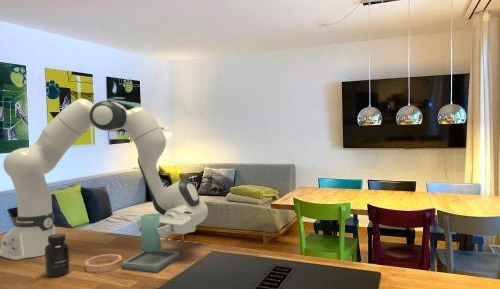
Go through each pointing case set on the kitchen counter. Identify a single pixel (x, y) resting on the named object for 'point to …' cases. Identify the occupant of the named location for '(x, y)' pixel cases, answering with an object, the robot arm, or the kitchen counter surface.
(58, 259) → the supplement bottle
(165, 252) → the tray
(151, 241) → the teal green cylinder
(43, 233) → the robot arm
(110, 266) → the holder
